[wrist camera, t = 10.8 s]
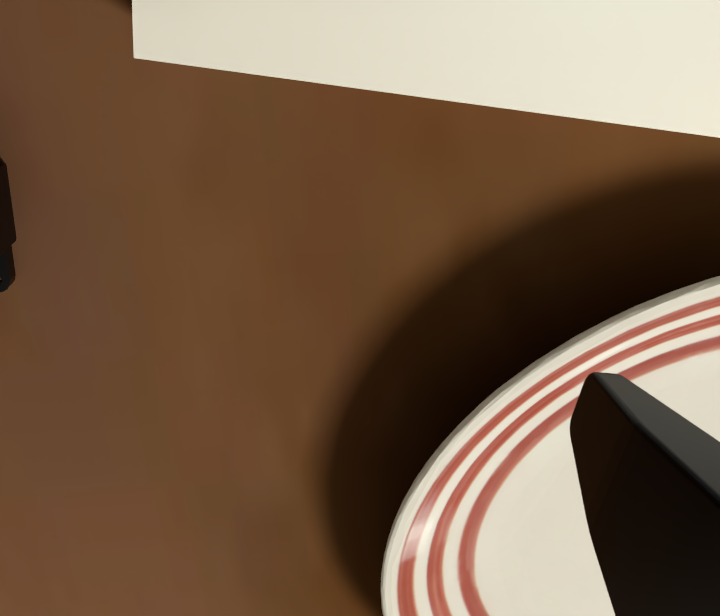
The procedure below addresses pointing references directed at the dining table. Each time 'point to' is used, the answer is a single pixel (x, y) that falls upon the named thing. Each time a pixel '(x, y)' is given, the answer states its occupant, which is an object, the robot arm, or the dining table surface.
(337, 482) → the dining table surface
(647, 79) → the painted board
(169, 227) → the dining table surface
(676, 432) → the robot arm
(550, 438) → the dinner plate
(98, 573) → the dining table surface
